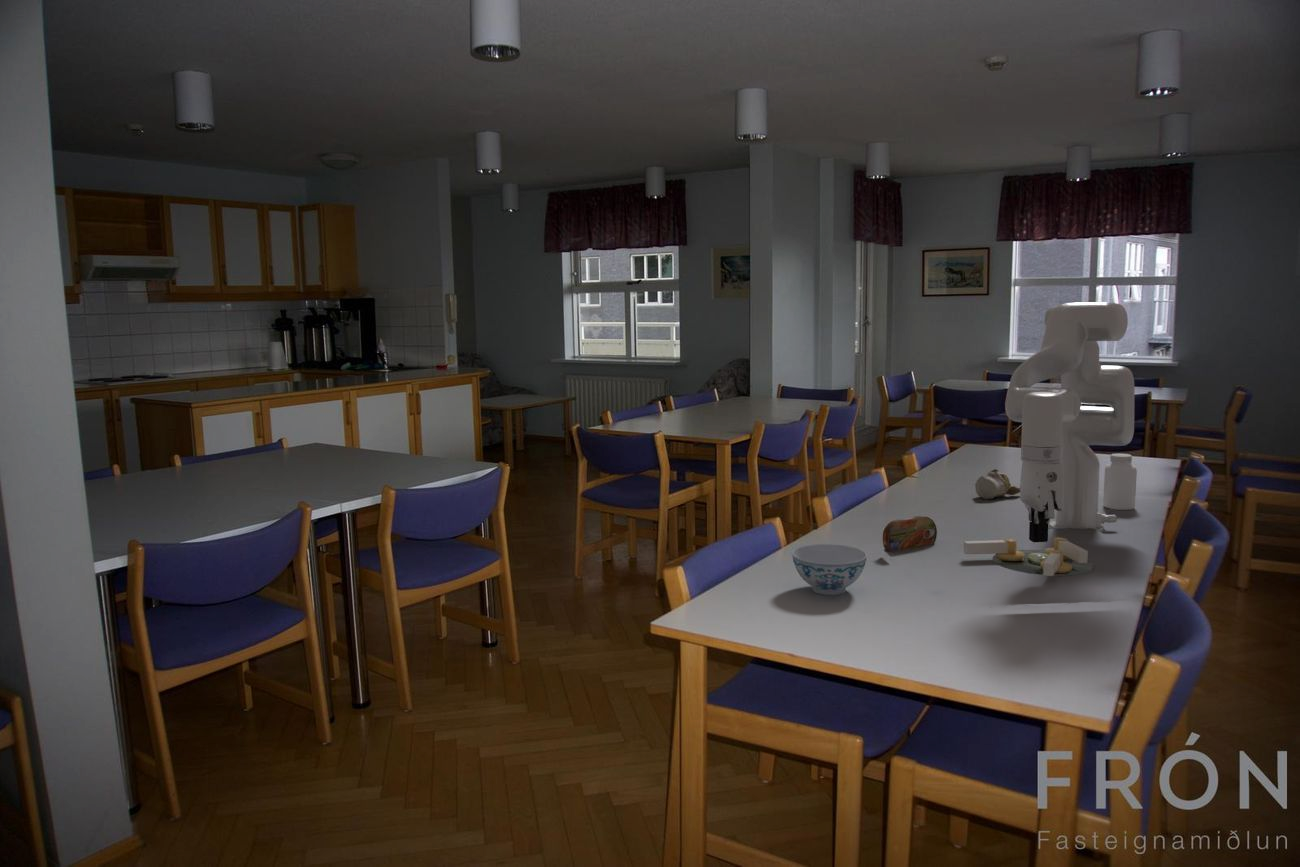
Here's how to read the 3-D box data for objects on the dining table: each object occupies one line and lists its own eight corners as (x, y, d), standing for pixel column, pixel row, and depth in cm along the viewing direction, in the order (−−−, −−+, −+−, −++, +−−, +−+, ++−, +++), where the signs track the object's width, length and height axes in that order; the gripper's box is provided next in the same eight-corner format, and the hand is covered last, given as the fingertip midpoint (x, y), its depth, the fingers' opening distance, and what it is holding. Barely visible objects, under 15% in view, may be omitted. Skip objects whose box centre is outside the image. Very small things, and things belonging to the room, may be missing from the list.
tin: (889, 559, 206) (889, 523, 204) (879, 555, 208) (880, 520, 207) (937, 549, 212) (938, 515, 211) (927, 546, 215) (928, 512, 214)
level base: (1064, 554, 205) (1064, 541, 205) (1111, 580, 186) (1111, 565, 185) (977, 557, 205) (978, 543, 204) (1016, 583, 185) (1016, 568, 185)
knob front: (1043, 563, 193) (1043, 546, 192) (1073, 567, 189) (1074, 549, 189) (1031, 579, 182) (1032, 561, 181) (1063, 583, 179) (1064, 565, 178)
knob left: (1017, 553, 201) (1017, 536, 201) (1029, 560, 195) (1029, 543, 195) (959, 555, 201) (960, 538, 200) (970, 562, 195) (970, 545, 194)
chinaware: (851, 606, 174) (852, 567, 173) (780, 594, 182) (780, 557, 180) (876, 585, 186) (876, 549, 185) (808, 575, 194) (808, 540, 193)
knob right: (1040, 552, 201) (1040, 535, 201) (1066, 551, 201) (1067, 535, 201) (1068, 568, 188) (1069, 551, 188) (1096, 567, 188) (1097, 550, 188)
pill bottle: (1104, 509, 249) (1106, 456, 247) (1101, 503, 256) (1104, 452, 254) (1136, 511, 246) (1139, 457, 244) (1133, 505, 253) (1135, 453, 251)
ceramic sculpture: (966, 468, 268) (995, 465, 277) (964, 496, 269) (993, 493, 278) (997, 473, 260) (1027, 470, 268) (995, 502, 260) (1025, 498, 269)
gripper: (1078, 459, 174) (1074, 550, 177) (1042, 446, 189) (1039, 530, 191) (1039, 461, 174) (1037, 552, 176) (1007, 447, 188) (1004, 532, 191)
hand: (1038, 540), depth 184 cm, fingers closed
